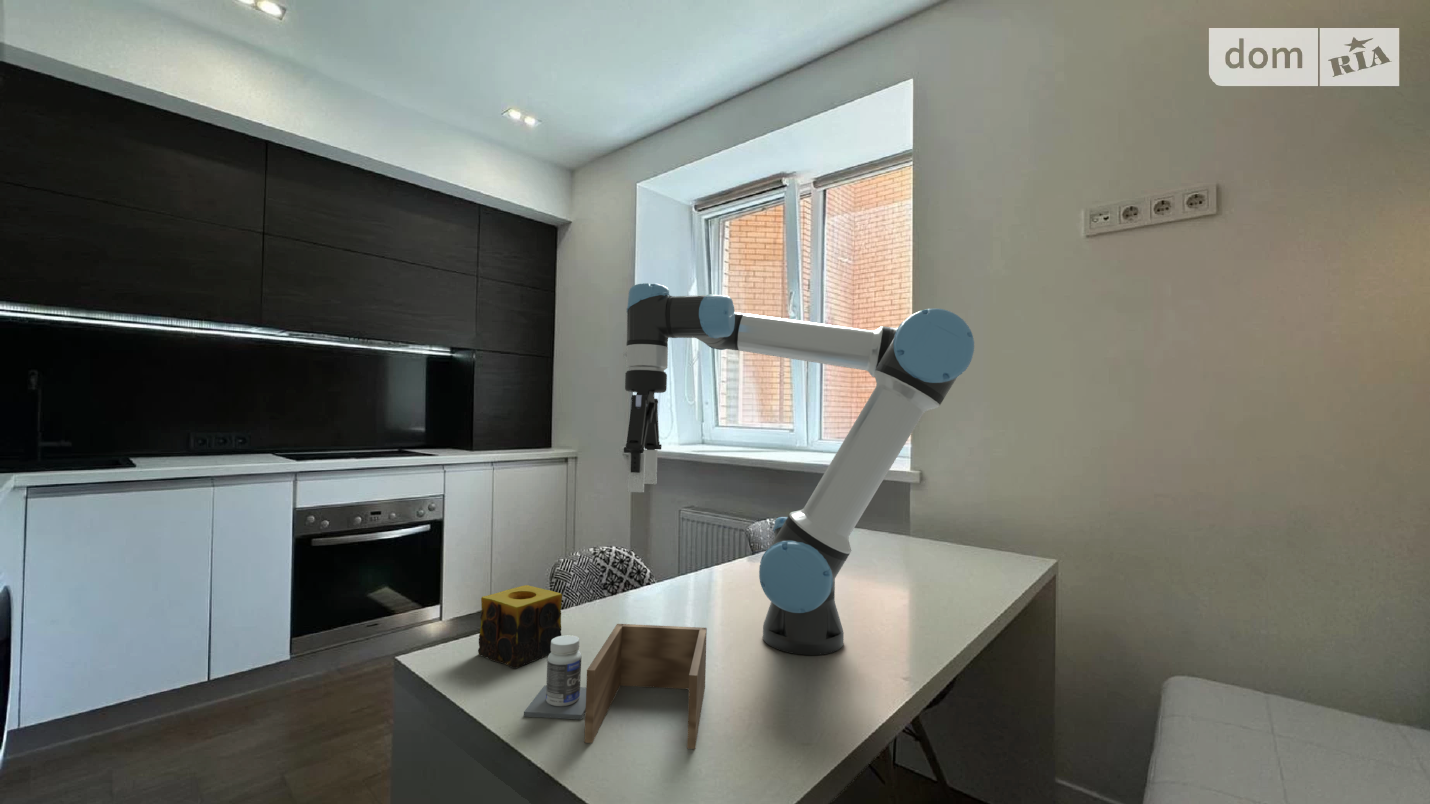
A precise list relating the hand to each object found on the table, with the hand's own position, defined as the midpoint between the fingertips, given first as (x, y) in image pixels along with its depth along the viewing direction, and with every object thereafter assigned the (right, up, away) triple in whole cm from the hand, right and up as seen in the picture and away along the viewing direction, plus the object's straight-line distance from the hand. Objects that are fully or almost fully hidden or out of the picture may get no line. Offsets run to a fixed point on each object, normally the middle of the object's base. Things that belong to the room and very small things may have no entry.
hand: (642, 487), depth 104 cm
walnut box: (+4, -28, -23) cm, 37 cm away
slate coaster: (-9, -28, -22) cm, 36 cm away
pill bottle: (-9, -27, -22) cm, 36 cm away
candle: (-21, -28, -4) cm, 35 cm away
